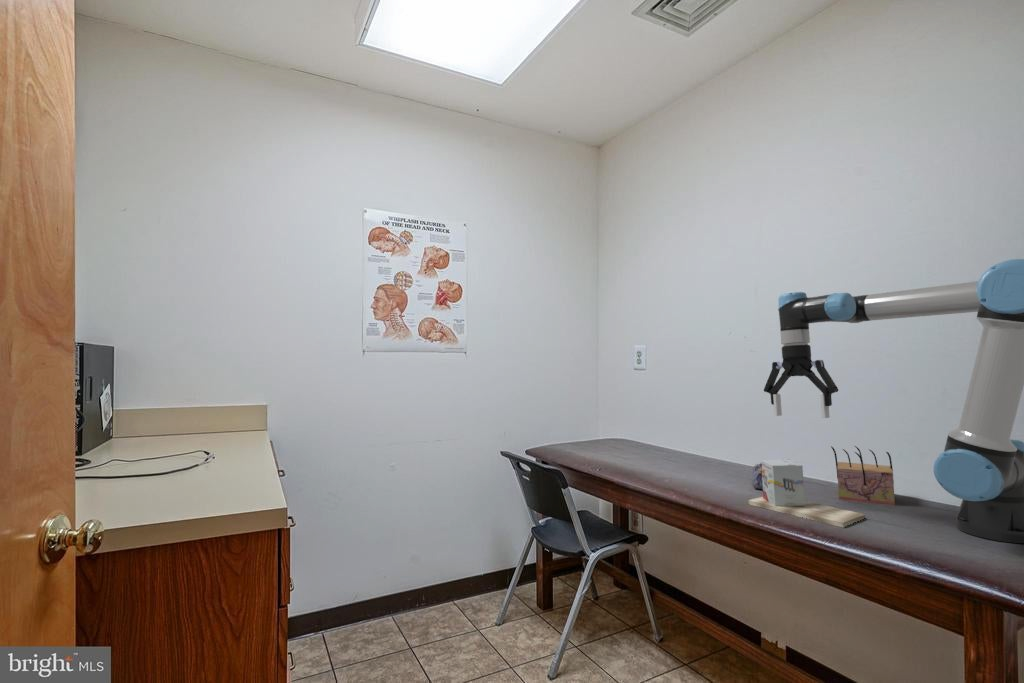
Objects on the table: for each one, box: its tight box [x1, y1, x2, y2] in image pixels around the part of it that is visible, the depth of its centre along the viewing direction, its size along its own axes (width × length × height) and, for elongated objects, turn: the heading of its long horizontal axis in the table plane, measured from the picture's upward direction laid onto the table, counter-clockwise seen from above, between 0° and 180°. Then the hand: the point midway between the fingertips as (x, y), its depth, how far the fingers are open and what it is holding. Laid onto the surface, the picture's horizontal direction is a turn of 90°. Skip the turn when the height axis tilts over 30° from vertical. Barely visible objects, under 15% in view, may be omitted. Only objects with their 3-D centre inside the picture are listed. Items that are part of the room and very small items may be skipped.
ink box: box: [761, 458, 806, 506], centre depth 148 cm, size 9×9×12 cm
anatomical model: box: [830, 445, 896, 506], centre depth 155 cm, size 16×11×15 cm
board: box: [747, 495, 867, 528], centre depth 143 cm, size 26×12×1 cm, turn 32°
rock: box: [750, 462, 763, 490], centre depth 169 cm, size 11×10×10 cm
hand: (801, 416), depth 149 cm, fingers open, 13 cm apart
